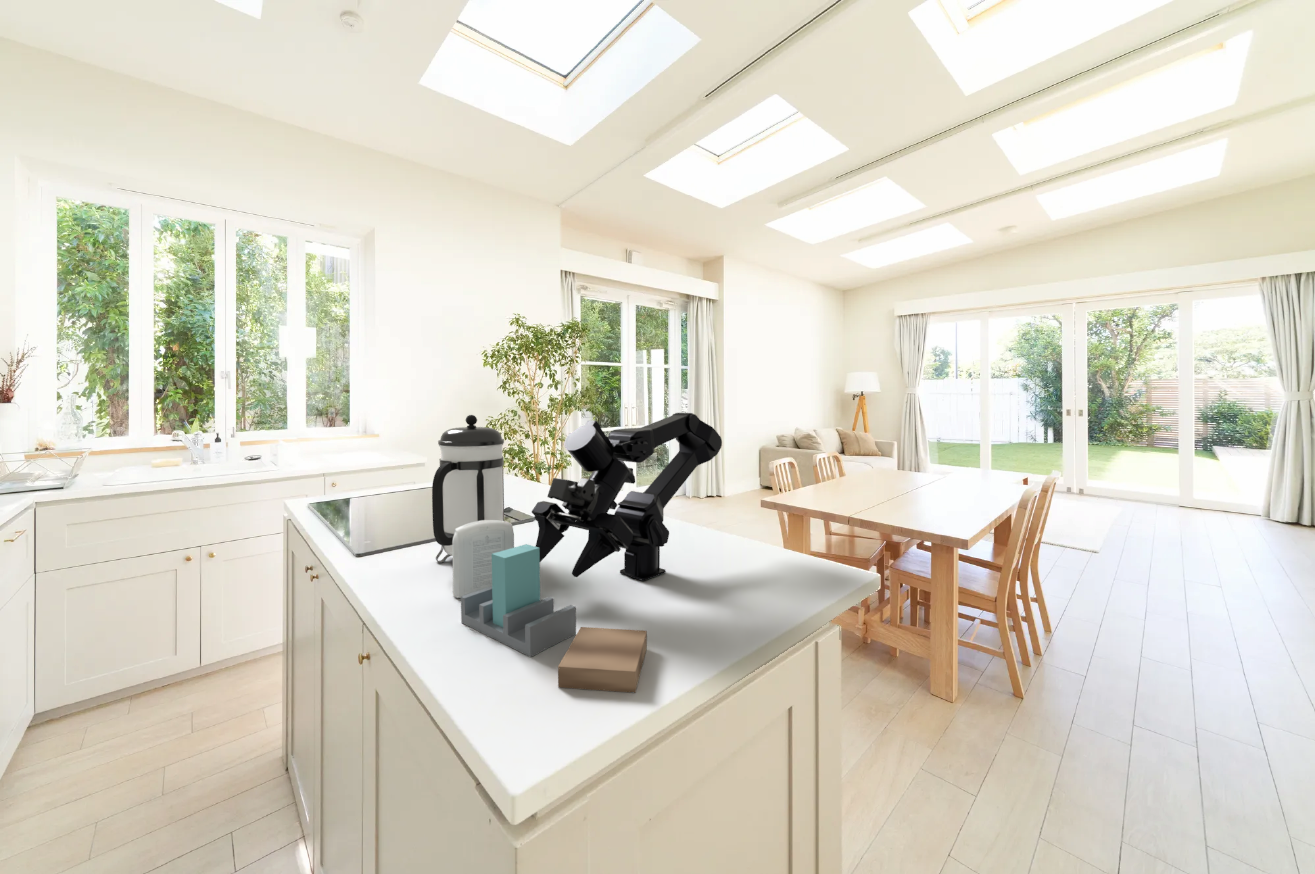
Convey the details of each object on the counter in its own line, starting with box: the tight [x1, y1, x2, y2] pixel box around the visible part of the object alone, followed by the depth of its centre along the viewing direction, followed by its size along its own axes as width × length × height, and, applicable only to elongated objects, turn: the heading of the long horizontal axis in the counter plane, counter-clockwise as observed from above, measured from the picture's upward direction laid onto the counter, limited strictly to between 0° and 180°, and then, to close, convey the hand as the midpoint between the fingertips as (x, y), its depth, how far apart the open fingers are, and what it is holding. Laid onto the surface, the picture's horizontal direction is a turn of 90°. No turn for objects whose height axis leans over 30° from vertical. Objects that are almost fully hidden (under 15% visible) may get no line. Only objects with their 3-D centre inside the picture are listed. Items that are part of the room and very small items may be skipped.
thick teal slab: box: [492, 543, 541, 627], centre depth 71 cm, size 6×3×10 cm, turn 143°
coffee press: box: [431, 414, 505, 564], centre depth 101 cm, size 17×16×30 cm
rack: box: [460, 586, 577, 658], centre depth 71 cm, size 8×16×4 cm, turn 53°
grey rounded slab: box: [452, 520, 515, 599], centre depth 85 cm, size 10×4×12 cm, turn 123°
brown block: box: [557, 626, 648, 694], centre depth 61 cm, size 10×9×2 cm
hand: (553, 569), depth 76 cm, fingers open, 9 cm apart
